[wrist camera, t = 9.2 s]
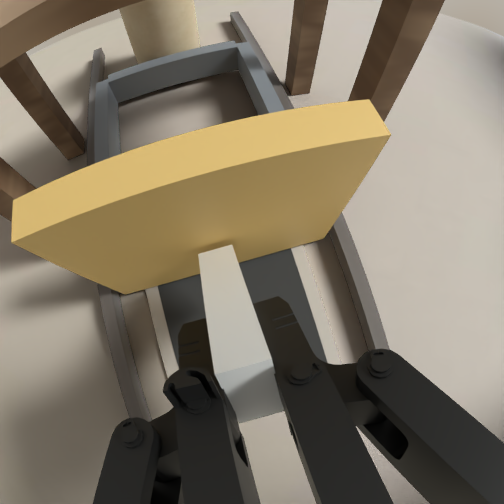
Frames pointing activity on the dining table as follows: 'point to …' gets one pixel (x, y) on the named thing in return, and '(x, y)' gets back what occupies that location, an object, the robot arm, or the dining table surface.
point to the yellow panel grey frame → (199, 180)
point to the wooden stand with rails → (297, 81)
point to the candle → (160, 27)
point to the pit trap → (260, 288)
